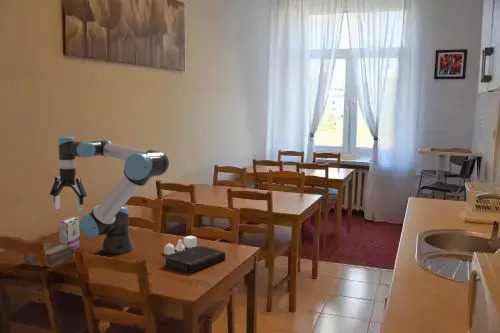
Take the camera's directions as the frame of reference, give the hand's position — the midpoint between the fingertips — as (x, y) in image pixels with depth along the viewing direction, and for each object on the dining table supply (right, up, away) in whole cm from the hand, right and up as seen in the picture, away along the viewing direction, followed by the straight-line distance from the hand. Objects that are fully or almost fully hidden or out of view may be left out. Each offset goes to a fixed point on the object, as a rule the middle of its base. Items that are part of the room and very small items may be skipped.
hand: (68, 209), depth 239 cm
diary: (+65, -24, -14) cm, 71 cm away
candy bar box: (0, -21, +2) cm, 22 cm away
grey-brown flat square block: (-4, -23, -14) cm, 27 cm away
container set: (+55, -22, +7) cm, 59 cm away
